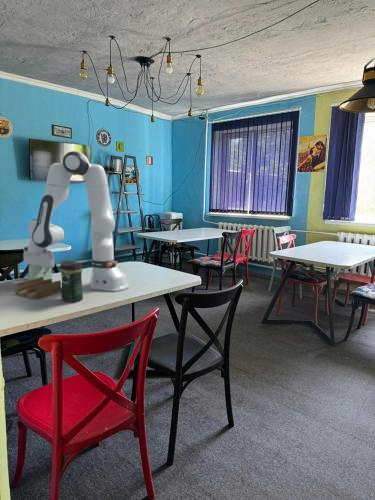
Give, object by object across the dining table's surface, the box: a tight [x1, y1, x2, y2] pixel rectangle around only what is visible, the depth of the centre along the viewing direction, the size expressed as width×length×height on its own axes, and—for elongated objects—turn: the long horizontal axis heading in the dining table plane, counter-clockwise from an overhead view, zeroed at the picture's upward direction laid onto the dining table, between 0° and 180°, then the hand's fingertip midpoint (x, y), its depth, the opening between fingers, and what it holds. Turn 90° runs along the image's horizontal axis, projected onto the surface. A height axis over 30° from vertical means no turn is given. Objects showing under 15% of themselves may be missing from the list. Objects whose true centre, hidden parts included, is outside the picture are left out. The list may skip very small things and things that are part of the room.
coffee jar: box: [60, 260, 84, 303], centre depth 160 cm, size 10×8×19 cm
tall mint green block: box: [28, 265, 53, 280], centre depth 186 cm, size 3×12×10 cm, turn 152°
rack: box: [14, 277, 62, 301], centre depth 170 cm, size 15×16×6 cm
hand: (39, 273), depth 186 cm, fingers open, 8 cm apart
